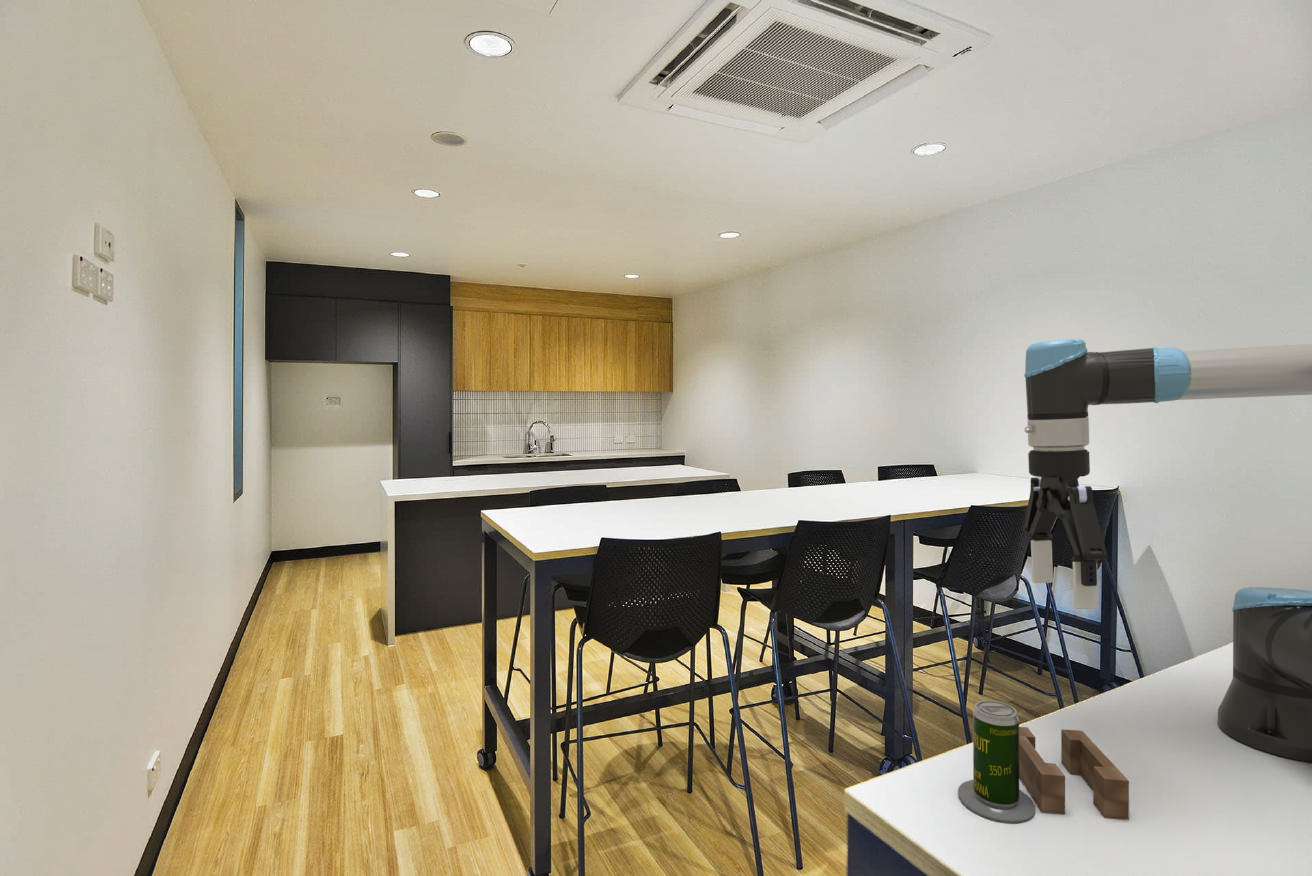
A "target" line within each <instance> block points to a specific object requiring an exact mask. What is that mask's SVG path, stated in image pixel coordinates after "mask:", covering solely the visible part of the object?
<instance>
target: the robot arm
mask: <svg viewBox="0 0 1312 876" xmlns="http://www.w3.org/2000/svg"><path fill="white" fill-rule="evenodd" d="M1024 361H1025V366H1024V368H1025V369H1024V370H1025V372H1024V378H1025V393H1026V395H1025V396H1026V408H1027V409H1026V411H1027V417H1026V418H1027V421H1026V422H1027V426H1025V427H1024V432H1025V434H1027V443H1028V446H1029V447H1030V448H1033V449H1031V450H1029V452H1028V454H1027V455H1028V457H1027V459H1028V474H1030V475H1031V476H1032V477H1031V478H1030V490H1029V491H1030V493H1029V497H1028V502H1027V506H1026V507H1027V508H1026V514H1025V519H1024V524H1023V525H1024V526H1023V532H1024V533H1025V534H1028V538H1029V540H1030V550H1031V551H1030V552H1031V553H1030V554H1031V558H1030V559H1031V580H1032V582H1033V583H1034V584H1041V583H1043V584H1049V583H1053V584H1054V569H1053V567H1054V566H1053V564H1054V563H1053V543H1052V542H1053V541H1052V539H1054V537H1053V534H1052V532H1051V531H1052V530H1053V527H1054V524H1055V522H1056V520H1057V519H1059V520H1061V521H1062V524H1063V526H1064V528H1065V531H1066V534H1067V537H1068V540H1069V543H1070V545H1071V547H1072V550H1073V553H1074V555H1073V556H1072V557H1071V558H1070V561H1071V563H1072V581H1073V582H1072V583H1073V584H1072V585H1073V586H1072V587H1073V607H1074V609H1076V610H1099V609H1100V607H1099V583H1098V582H1099V581H1098V579H1099V578H1098V562H1100V561H1101V560H1102V561H1103V560H1107V559H1108V552H1107V549H1106V545H1105V542H1104V538H1103V534H1102V531H1101V530H1102V529H1101V526H1100V523H1099V519H1098V515H1097V512H1096V511H1097V510H1096V507H1095V504H1094V496H1093V495H1094V494H1093V488H1092V486H1088V485H1087V486H1086V485H1085V486H1084V485H1083V486H1082V485H1081V486H1080V484H1079V478H1080V477H1086V476H1089V474H1090V472H1091V468H1090V467H1091V466H1090V465H1091V464H1090V462H1091V461H1090V451H1088V449H1086V448H1085V447H1086V446H1088V445H1089V444H1090V426H1089V425H1090V423H1089V422H1090V421H1089V419H1090V418H1089V411H1088V410H1089V409H1088V408H1089V406H1099V405H1121V404H1122V405H1123V404H1126V405H1129V404H1143V403H1144V404H1146V403H1147V404H1148V403H1153V404H1154V403H1155V404H1159V403H1162V402H1173V401H1180V400H1181V401H1184V400H1186V401H1187V400H1211V399H1212V400H1213V399H1214V400H1215V399H1239V398H1241V399H1242V398H1258V397H1260V398H1262V397H1263V398H1265V397H1286V396H1291V397H1292V396H1311V395H1312V343H1304V344H1300V343H1299V344H1288V345H1287V344H1286V345H1285V344H1283V345H1266V346H1253V347H1251V346H1249V347H1233V348H1231V347H1230V348H1219V349H1217V348H1216V349H1201V350H1200V349H1198V350H1182V349H1180V348H1177V347H1157V346H1153V347H1148V348H1137V349H1134V348H1133V349H1126V350H1125V349H1124V350H1123V349H1122V350H1114V351H1112V350H1111V351H1103V352H1102V351H1101V352H1099V351H1088V348H1087V344H1086V341H1085V340H1083V339H1081V338H1071V339H1070V338H1067V339H1066V338H1065V339H1054V340H1044V341H1039V342H1034V343H1032V344H1030V345H1029V346H1028V347H1027V348H1026V350H1025V360H1024ZM1231 611H1232V613H1233V619H1232V621H1233V625H1232V628H1233V629H1232V632H1233V633H1232V637H1233V638H1232V639H1233V640H1232V646H1233V647H1232V678H1231V679H1232V680H1231V682H1230V683H1229V686H1228V687H1227V690H1226V692H1225V694H1224V696H1223V698H1222V701H1221V703H1220V705H1219V707H1218V709H1217V726H1218V727H1219V729H1220V730H1221V731H1222V732H1223V733H1225V734H1226V735H1227V736H1229V737H1230V738H1232V739H1234V740H1236V741H1238V742H1240V743H1241V744H1244V745H1247V746H1250V747H1251V748H1254V749H1257V750H1259V751H1262V752H1265V753H1269V754H1272V755H1276V756H1280V757H1283V758H1286V759H1287V758H1288V759H1291V760H1292V759H1293V760H1298V761H1303V762H1310V763H1312V590H1305V589H1295V588H1286V587H1284V588H1282V587H1266V586H1265V587H1264V586H1261V587H1260V586H1252V587H1251V586H1250V587H1243V588H1239V590H1237V591H1236V593H1235V595H1234V600H1233V606H1232V609H1231Z"/></svg>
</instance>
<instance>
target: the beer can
mask: <svg viewBox="0 0 1312 876" xmlns="http://www.w3.org/2000/svg"><path fill="white" fill-rule="evenodd" d="M1019 727H1020V719H1019V716H1018V711H1017V709H1016V708H1015V707H1013V706H1012V705H1009V704H1008V703H1005V702H1001V701H996V700H979V701H978V702H976V703H975V704H974V709H973V711H972V745H973V746H972V752H973V754H972V755H973V756H972V757H973V758H972V761H973V762H972V764H973V767H972V769H973V771H972V772H973V774H972V775H973V776H972V777H973V778H972V780H973V787H974V792H975V794H976V796H977V798H978V799H979V800H980V801H981V802H983V803H984V804H986V805H988V806H991V807H994V808H999V809H1009V808H1013V807H1014V806H1016V804H1017V802H1018V800H1019V790H1020V778H1019Z"/></svg>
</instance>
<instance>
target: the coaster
mask: <svg viewBox="0 0 1312 876" xmlns="http://www.w3.org/2000/svg"><path fill="white" fill-rule="evenodd" d="M957 795H958V796H957V797H958V800H959V801H960V803H961V804H962V805H963V806H964V807H965V808H966V809H967V810H969V811H971V812H972V813H973V814H975V815H977V816H980V817H981V818H984V819H987V820H990V821H993V822H998V823H1002V824H1003V823H1004V824H1022V823H1026V822H1029V821H1030V820H1032V819H1033V818H1034V817H1035V814H1036V806H1035V805H1036V804H1035V802H1034V800H1032V797H1031V796H1029V795H1027V794H1026V793H1025V792H1024V791H1022V790H1020V789H1019V800H1018V802H1017V804H1016V806H1014V807H1013V808H1009V809H999V808H994V807H991V806H988V805H986V804H984V803H983V802H981V801H980V800H979V799H978V798H977V796H976V794H975V792H974V787H973V779H969V780H965V781H964V782H962V783H961V784H960V785H959V786H958V789H957ZM1030 797H1031V798H1030Z"/></svg>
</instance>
